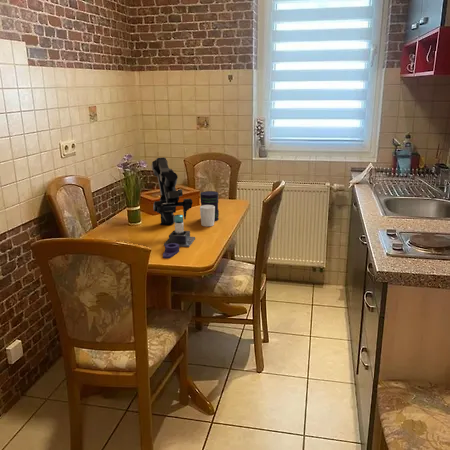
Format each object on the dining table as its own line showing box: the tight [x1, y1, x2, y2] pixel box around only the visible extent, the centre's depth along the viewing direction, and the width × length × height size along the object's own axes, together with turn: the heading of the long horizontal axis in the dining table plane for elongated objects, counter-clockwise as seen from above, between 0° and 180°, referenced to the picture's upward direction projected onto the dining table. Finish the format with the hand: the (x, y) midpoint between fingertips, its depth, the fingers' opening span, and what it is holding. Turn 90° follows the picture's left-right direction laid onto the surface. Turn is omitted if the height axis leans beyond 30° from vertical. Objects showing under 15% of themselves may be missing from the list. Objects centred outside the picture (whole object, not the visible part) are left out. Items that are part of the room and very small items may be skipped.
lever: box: [162, 243, 180, 260], centre depth 202 cm, size 12×6×3 cm, turn 169°
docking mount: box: [163, 229, 196, 248], centre depth 217 cm, size 12×12×4 cm
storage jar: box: [200, 190, 220, 223], centre depth 252 cm, size 10×10×15 cm
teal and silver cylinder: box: [174, 214, 185, 235], centre depth 215 cm, size 4×4×12 cm
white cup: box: [199, 205, 215, 227], centre depth 243 cm, size 8×8×10 cm
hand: (175, 219), depth 222 cm, fingers open, 9 cm apart
